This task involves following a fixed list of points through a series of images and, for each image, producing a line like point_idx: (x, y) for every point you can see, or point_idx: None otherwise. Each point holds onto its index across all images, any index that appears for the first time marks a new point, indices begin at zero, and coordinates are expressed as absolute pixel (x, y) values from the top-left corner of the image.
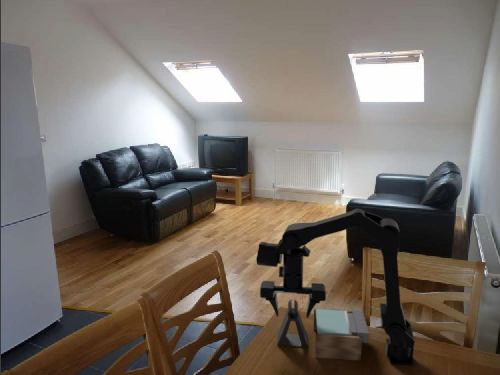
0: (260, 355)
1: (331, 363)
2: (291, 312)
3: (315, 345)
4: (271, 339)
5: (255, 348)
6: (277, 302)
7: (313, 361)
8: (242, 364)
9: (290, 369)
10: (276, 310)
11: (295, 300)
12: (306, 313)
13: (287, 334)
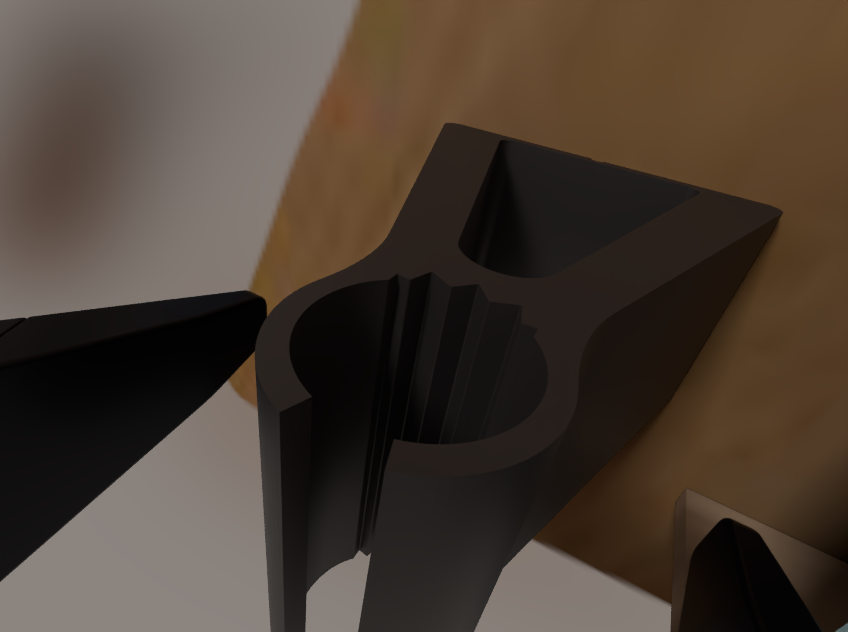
0: None
1: None
2: (410, 432)
3: (678, 584)
4: (387, 196)
5: (288, 273)
6: (21, 396)
7: (638, 522)
8: (246, 373)
9: None
10: (141, 439)
11: (427, 490)
12: (712, 611)
13: (534, 167)
